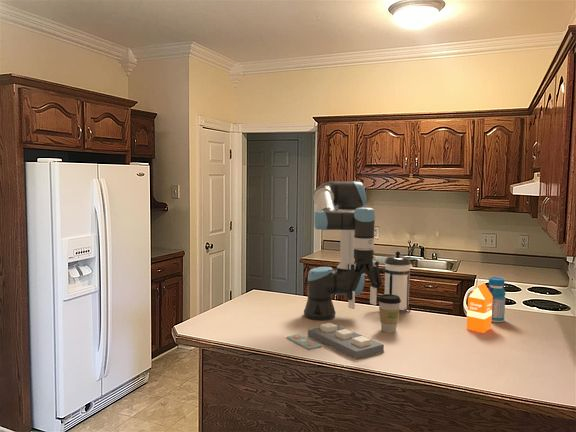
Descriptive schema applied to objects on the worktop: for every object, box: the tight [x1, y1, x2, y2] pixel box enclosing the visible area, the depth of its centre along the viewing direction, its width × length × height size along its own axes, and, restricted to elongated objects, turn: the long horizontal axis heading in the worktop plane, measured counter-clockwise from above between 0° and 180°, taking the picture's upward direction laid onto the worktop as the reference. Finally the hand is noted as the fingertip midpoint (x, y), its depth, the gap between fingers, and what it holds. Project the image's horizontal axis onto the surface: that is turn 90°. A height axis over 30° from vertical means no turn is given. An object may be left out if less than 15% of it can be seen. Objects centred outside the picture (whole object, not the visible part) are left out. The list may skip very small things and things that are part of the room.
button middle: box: [336, 328, 354, 340], centre depth 193 cm, size 5×5×4 cm
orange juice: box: [466, 282, 493, 334], centre depth 213 cm, size 8×9×20 cm
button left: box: [319, 322, 338, 333], centre depth 201 cm, size 5×5×4 cm
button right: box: [352, 335, 371, 348], centre depth 184 cm, size 5×5×4 cm
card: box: [285, 334, 322, 351], centre depth 194 cm, size 16×6×1 cm, turn 34°
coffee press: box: [371, 251, 413, 314], centre depth 241 cm, size 17×16×30 cm
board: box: [307, 323, 385, 360], centre depth 193 cm, size 30×14×3 cm, turn 34°
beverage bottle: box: [487, 276, 506, 323], centre depth 227 cm, size 8×8×20 cm
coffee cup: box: [377, 294, 401, 333], centre depth 210 cm, size 10×10×15 cm
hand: (362, 306), depth 183 cm, fingers open, 10 cm apart
